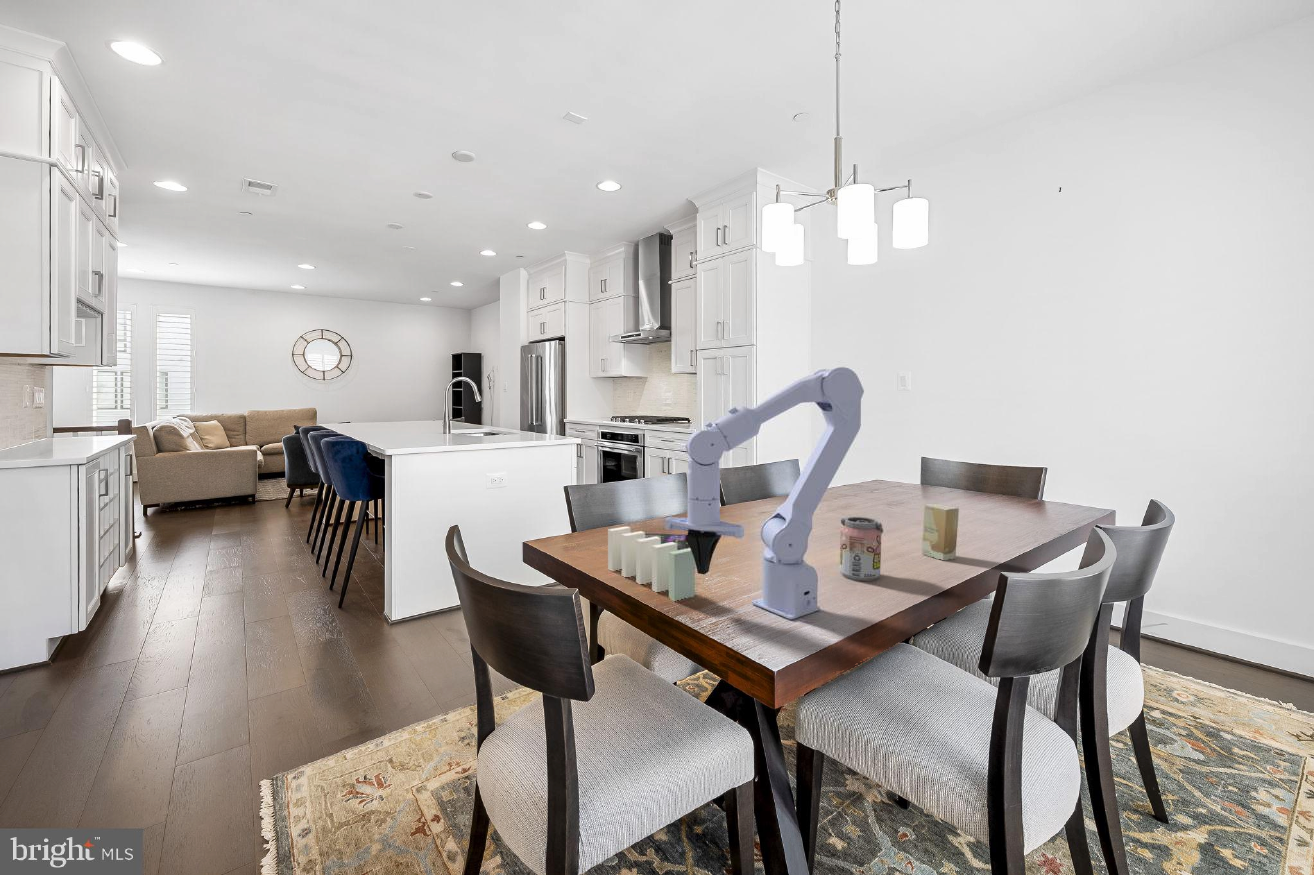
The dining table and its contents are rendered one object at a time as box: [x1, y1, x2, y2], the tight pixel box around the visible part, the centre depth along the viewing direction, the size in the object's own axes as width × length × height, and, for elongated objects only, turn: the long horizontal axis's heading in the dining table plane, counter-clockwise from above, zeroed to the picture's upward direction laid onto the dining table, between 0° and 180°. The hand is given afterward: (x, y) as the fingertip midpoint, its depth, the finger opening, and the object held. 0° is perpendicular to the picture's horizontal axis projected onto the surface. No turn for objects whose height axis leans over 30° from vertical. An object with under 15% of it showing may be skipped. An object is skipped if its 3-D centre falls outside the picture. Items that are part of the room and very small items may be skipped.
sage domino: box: [668, 547, 696, 603], centre depth 105 cm, size 2×5×9 cm, turn 127°
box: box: [645, 533, 688, 550], centre depth 135 cm, size 14×4×20 cm
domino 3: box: [635, 536, 661, 585], centre depth 114 cm, size 2×5×9 cm, turn 126°
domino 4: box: [651, 542, 677, 593], centre depth 110 cm, size 2×5×9 cm, turn 127°
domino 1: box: [607, 525, 632, 572], centre depth 123 cm, size 2×5×9 cm, turn 127°
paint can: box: [839, 516, 884, 582], centre depth 119 cm, size 9×8×12 cm
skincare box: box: [921, 503, 960, 561], centre depth 132 cm, size 6×4×12 cm
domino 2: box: [621, 530, 646, 578], centre depth 119 cm, size 2×5×9 cm, turn 126°
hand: (703, 572), depth 100 cm, fingers closed
